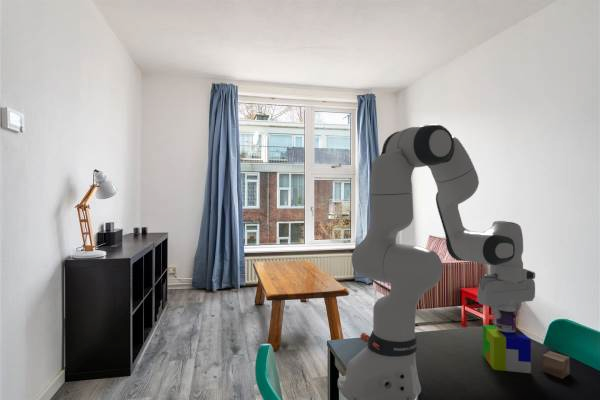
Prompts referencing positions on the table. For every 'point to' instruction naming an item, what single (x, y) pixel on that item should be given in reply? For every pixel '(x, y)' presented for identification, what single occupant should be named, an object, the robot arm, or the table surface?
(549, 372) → the walnut block
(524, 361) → the puzzle toy
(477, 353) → the table surface
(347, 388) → the robot arm
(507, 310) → the pill bottle
